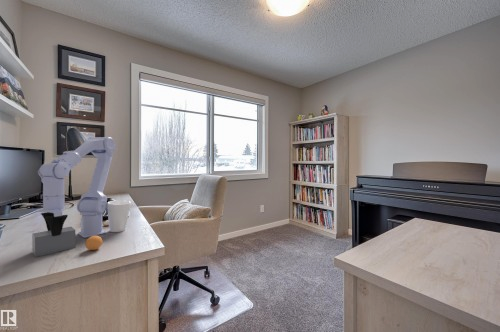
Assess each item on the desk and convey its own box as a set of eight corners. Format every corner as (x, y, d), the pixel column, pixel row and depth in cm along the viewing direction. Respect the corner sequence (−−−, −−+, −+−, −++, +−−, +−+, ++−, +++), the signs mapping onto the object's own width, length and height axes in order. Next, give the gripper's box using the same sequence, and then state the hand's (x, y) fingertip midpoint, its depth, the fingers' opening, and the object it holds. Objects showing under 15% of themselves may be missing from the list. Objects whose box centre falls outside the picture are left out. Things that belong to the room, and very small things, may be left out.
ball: (83, 250, 76) (83, 236, 76) (99, 245, 80) (99, 232, 80) (87, 253, 73) (87, 239, 73) (104, 249, 77) (104, 235, 77)
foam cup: (117, 234, 93) (120, 205, 93) (100, 231, 95) (102, 202, 95) (133, 228, 102) (135, 201, 102) (117, 225, 104) (119, 199, 104)
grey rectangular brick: (32, 252, 74) (32, 233, 74) (71, 243, 82) (71, 226, 82) (35, 257, 70) (34, 237, 70) (75, 247, 79) (75, 229, 78)
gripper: (35, 195, 78) (35, 231, 78) (42, 199, 68) (42, 240, 69) (60, 193, 83) (60, 227, 83) (70, 196, 74) (70, 235, 74)
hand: (54, 233), depth 76 cm, fingers open, 7 cm apart
